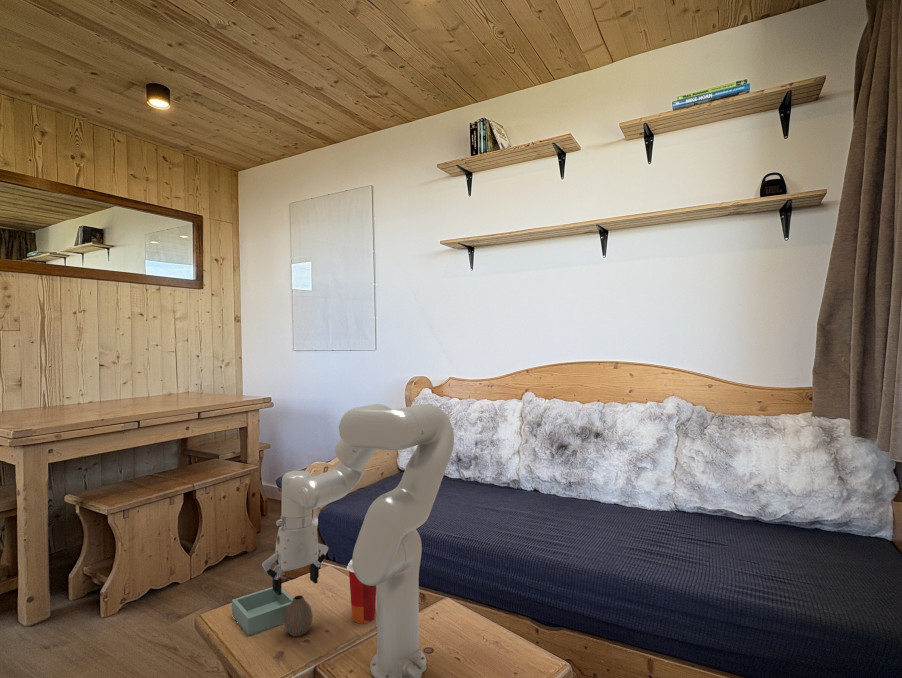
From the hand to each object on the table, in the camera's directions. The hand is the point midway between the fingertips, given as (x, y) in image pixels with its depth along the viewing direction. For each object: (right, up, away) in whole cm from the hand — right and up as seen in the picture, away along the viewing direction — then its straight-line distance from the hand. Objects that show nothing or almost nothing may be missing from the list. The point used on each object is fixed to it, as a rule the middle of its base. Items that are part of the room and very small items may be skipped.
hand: (296, 587), depth 130 cm
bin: (-11, -12, +7) cm, 17 cm away
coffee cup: (+16, -11, +6) cm, 21 cm away
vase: (+1, -11, -1) cm, 11 cm away
